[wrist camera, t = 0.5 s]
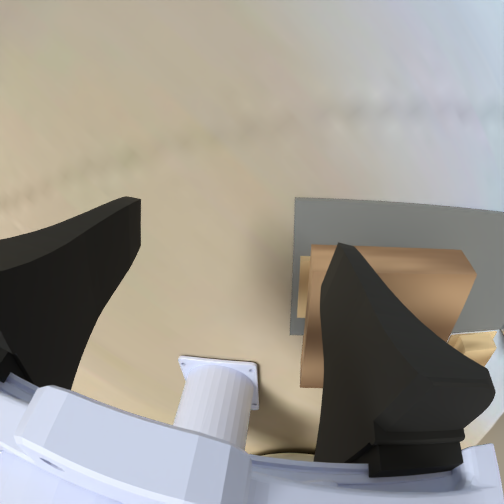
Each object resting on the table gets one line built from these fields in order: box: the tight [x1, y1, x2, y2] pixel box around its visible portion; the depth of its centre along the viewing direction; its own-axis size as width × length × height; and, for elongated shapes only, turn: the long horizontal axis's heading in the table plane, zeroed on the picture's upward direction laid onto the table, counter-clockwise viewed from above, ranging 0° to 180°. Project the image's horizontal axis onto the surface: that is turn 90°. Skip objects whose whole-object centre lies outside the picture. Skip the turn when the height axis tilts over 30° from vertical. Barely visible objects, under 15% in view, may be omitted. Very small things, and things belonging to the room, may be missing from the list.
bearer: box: [447, 331, 497, 367], centre depth 27 cm, size 6×6×3 cm
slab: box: [300, 244, 477, 388], centre depth 20 cm, size 11×10×3 cm
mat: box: [290, 198, 504, 335], centre depth 22 cm, size 12×26×1 cm, turn 92°
